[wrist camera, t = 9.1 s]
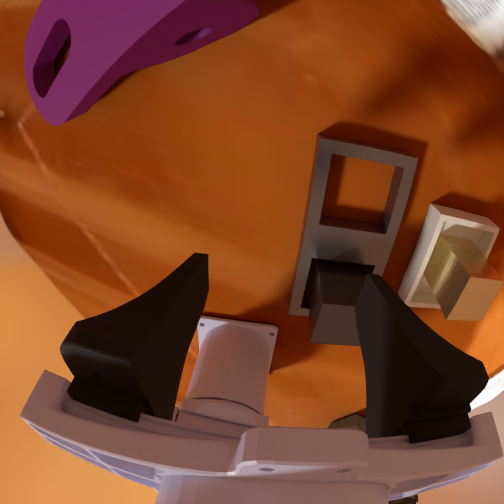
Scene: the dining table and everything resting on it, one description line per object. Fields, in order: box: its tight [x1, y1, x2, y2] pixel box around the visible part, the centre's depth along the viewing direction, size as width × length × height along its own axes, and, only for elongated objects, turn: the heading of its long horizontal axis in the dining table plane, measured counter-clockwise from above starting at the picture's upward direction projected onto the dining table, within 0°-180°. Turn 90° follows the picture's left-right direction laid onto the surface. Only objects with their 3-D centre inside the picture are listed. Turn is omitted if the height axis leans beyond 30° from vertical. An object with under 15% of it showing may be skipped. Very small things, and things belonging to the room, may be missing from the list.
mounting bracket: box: [24, 0, 259, 126], centre depth 14 cm, size 10×8×18 cm
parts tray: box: [397, 203, 500, 309], centre depth 21 cm, size 9×7×2 cm
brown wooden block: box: [423, 234, 504, 321], centre depth 19 cm, size 4×4×6 cm
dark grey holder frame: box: [288, 134, 418, 316], centre depth 22 cm, size 15×7×2 cm, turn 176°
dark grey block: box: [308, 258, 367, 346], centre depth 22 cm, size 4×4×6 cm
